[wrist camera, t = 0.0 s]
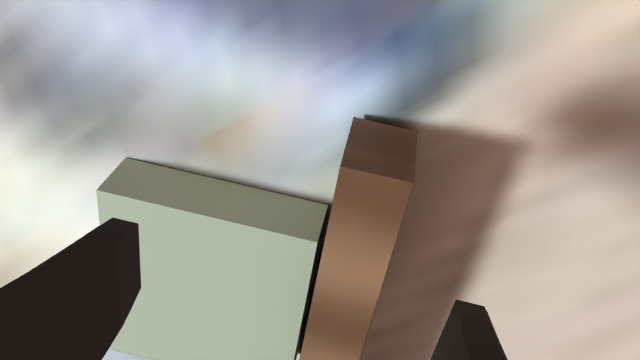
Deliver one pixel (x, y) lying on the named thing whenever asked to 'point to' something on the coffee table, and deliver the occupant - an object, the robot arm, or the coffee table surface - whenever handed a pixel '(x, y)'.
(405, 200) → the folding leg
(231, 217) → the stool seat
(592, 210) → the coffee table surface
